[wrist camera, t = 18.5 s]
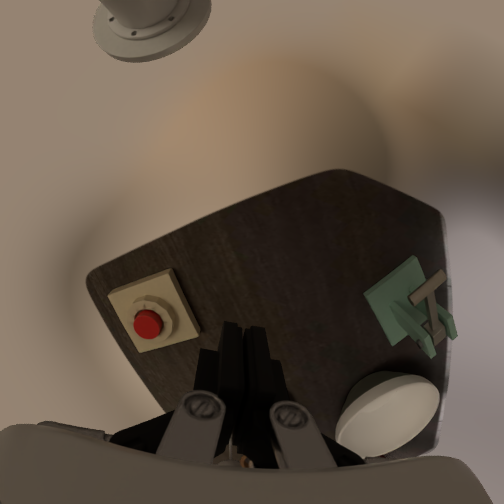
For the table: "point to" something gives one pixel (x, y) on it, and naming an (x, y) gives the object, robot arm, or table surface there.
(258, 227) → the table surface
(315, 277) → the table surface
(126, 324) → the block
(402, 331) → the green lever stand
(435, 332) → the lever handle
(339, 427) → the bowl
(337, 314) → the table surface
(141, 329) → the button
